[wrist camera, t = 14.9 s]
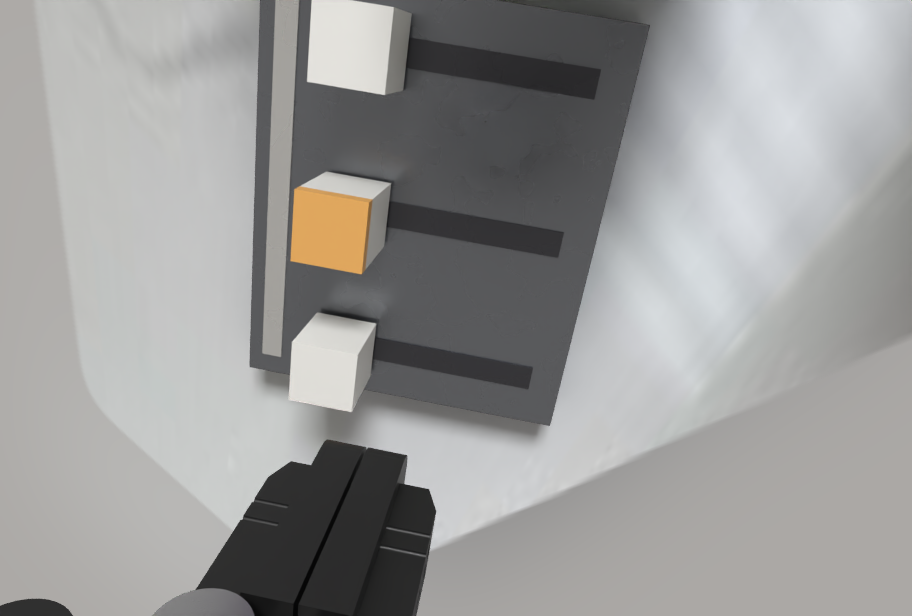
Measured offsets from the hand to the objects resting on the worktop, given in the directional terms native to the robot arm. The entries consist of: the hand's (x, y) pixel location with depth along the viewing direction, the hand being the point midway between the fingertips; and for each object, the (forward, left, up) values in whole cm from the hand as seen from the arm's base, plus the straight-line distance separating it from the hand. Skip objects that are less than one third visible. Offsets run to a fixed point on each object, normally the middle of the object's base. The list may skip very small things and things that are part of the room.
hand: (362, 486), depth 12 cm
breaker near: (+5, -7, -19) cm, 21 cm away
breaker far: (+5, +7, -19) cm, 21 cm away
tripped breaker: (+5, 0, -19) cm, 20 cm away
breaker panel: (+2, 0, -21) cm, 21 cm away
